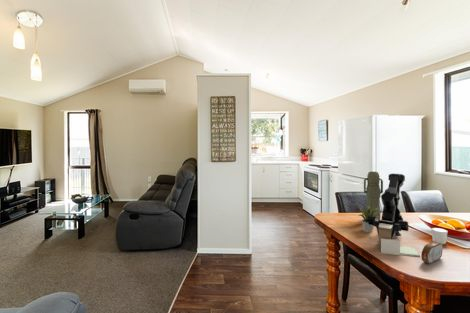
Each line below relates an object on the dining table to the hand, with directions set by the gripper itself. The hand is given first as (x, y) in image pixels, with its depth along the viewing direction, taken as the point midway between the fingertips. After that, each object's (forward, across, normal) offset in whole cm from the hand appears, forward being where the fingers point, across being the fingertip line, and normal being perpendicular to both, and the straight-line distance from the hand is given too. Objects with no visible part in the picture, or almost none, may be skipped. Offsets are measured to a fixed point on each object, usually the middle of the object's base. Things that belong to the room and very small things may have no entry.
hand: (385, 237), depth 128 cm
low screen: (+7, -3, -2) cm, 8 cm away
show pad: (+2, -9, -7) cm, 12 cm away
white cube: (-15, -22, -25) cm, 36 cm away
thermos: (-30, +15, -40) cm, 52 cm away
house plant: (-13, +12, -22) cm, 28 cm away
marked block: (+4, 0, -6) cm, 7 cm away
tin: (+5, -19, -5) cm, 21 cm away
